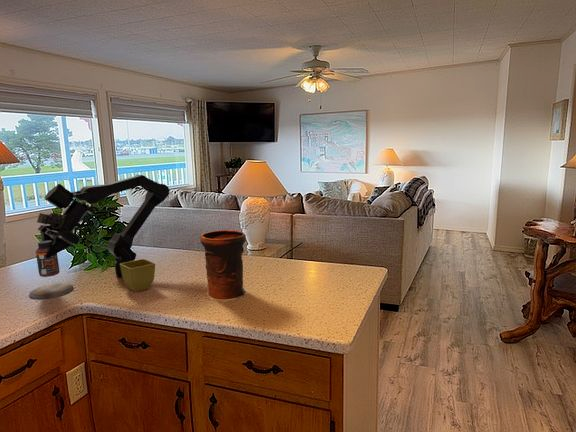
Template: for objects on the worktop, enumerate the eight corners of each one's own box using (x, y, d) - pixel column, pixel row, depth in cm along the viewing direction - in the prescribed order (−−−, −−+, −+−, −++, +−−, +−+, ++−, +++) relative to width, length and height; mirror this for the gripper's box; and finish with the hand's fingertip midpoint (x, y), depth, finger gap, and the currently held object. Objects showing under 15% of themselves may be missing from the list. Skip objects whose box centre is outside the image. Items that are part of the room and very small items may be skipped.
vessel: (198, 289, 137) (196, 231, 133) (239, 283, 142) (238, 227, 139) (207, 304, 124) (205, 240, 120) (252, 298, 129) (251, 236, 126)
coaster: (74, 282, 146) (74, 280, 146) (72, 294, 134) (72, 292, 134) (32, 288, 141) (31, 286, 140) (26, 301, 129) (26, 299, 129)
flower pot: (146, 282, 145) (144, 258, 143) (157, 288, 139) (155, 263, 137) (121, 289, 139) (119, 263, 137) (132, 295, 133) (130, 268, 131)
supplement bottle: (47, 278, 131) (41, 244, 129) (35, 276, 134) (29, 243, 132) (64, 272, 136) (58, 239, 134) (52, 271, 139) (47, 238, 137)
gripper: (39, 201, 139) (8, 239, 133) (64, 205, 128) (32, 247, 122) (66, 219, 147) (38, 256, 141) (92, 224, 136) (63, 265, 129)
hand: (42, 256), depth 133 cm, fingers closed on supplement bottle, 6 cm apart
